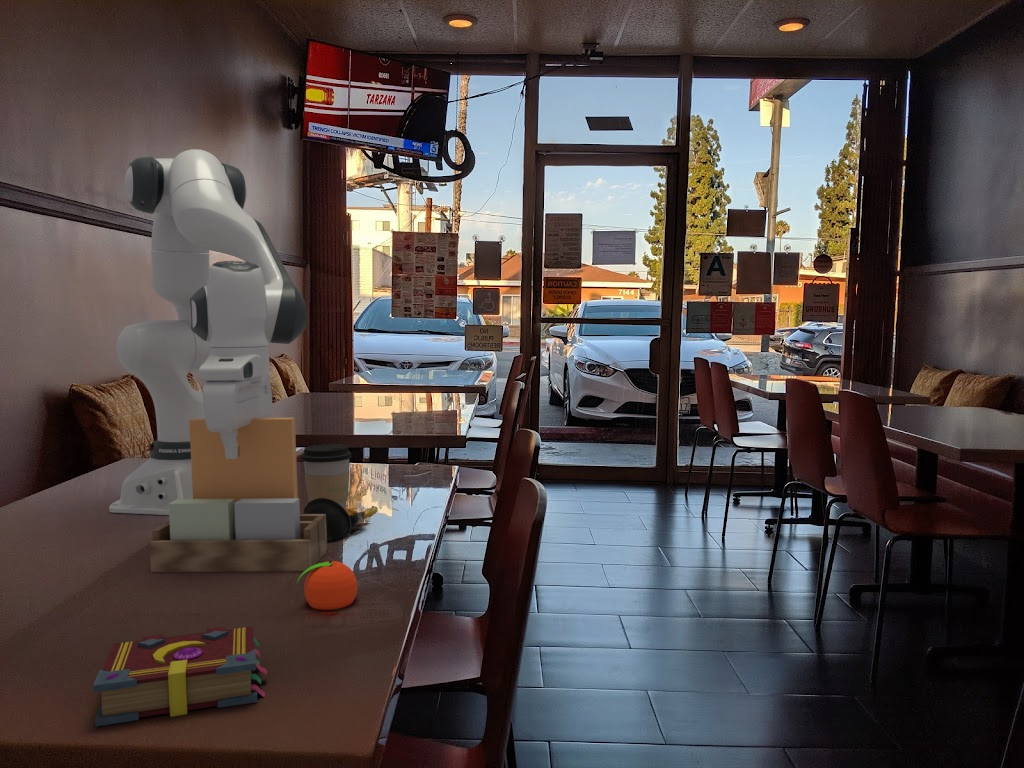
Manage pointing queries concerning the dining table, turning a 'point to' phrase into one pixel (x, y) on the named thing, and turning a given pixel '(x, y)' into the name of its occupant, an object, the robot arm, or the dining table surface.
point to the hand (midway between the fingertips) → (243, 452)
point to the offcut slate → (267, 519)
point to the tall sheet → (245, 461)
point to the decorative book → (178, 674)
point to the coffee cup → (327, 472)
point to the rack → (240, 551)
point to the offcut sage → (202, 519)
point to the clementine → (330, 586)
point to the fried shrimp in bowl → (338, 517)
